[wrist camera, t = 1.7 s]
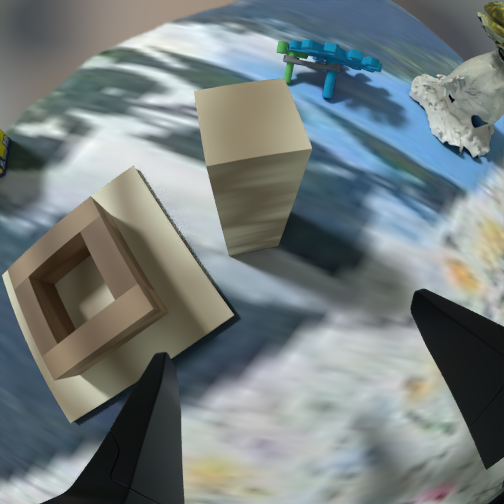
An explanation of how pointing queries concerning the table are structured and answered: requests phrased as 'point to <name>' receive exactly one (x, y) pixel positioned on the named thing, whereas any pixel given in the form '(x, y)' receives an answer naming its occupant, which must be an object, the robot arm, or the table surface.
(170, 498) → the robot arm
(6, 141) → the supplement box
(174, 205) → the table surface
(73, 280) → the socket
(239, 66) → the table surface
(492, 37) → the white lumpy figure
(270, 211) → the peg
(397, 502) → the table surface
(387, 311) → the table surface
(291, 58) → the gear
